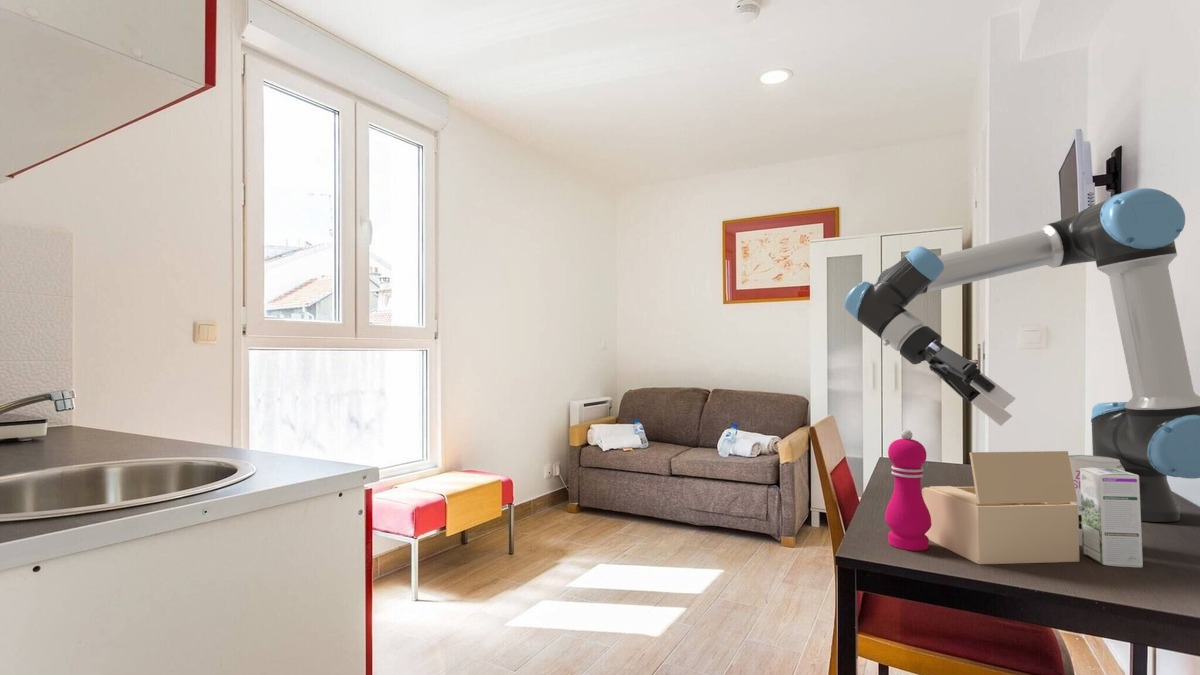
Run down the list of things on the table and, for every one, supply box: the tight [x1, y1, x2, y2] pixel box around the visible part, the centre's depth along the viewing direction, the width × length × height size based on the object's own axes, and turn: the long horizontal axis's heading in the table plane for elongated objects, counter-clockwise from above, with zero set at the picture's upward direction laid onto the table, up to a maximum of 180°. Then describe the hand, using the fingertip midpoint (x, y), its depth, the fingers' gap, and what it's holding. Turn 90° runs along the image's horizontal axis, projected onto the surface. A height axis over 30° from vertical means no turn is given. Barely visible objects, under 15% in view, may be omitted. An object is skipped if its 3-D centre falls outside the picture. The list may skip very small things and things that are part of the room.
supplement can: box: [1069, 454, 1125, 548], centre depth 105 cm, size 8×8×15 cm
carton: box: [921, 485, 1080, 565], centre depth 103 cm, size 17×15×9 cm
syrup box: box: [1080, 467, 1144, 569], centre depth 97 cm, size 6×6×14 cm
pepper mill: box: [884, 429, 932, 552], centre depth 105 cm, size 7×7×20 cm
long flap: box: [969, 450, 1078, 504], centre depth 97 cm, size 17×1×8 cm, turn 94°
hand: (1007, 413), depth 109 cm, fingers open, 13 cm apart
